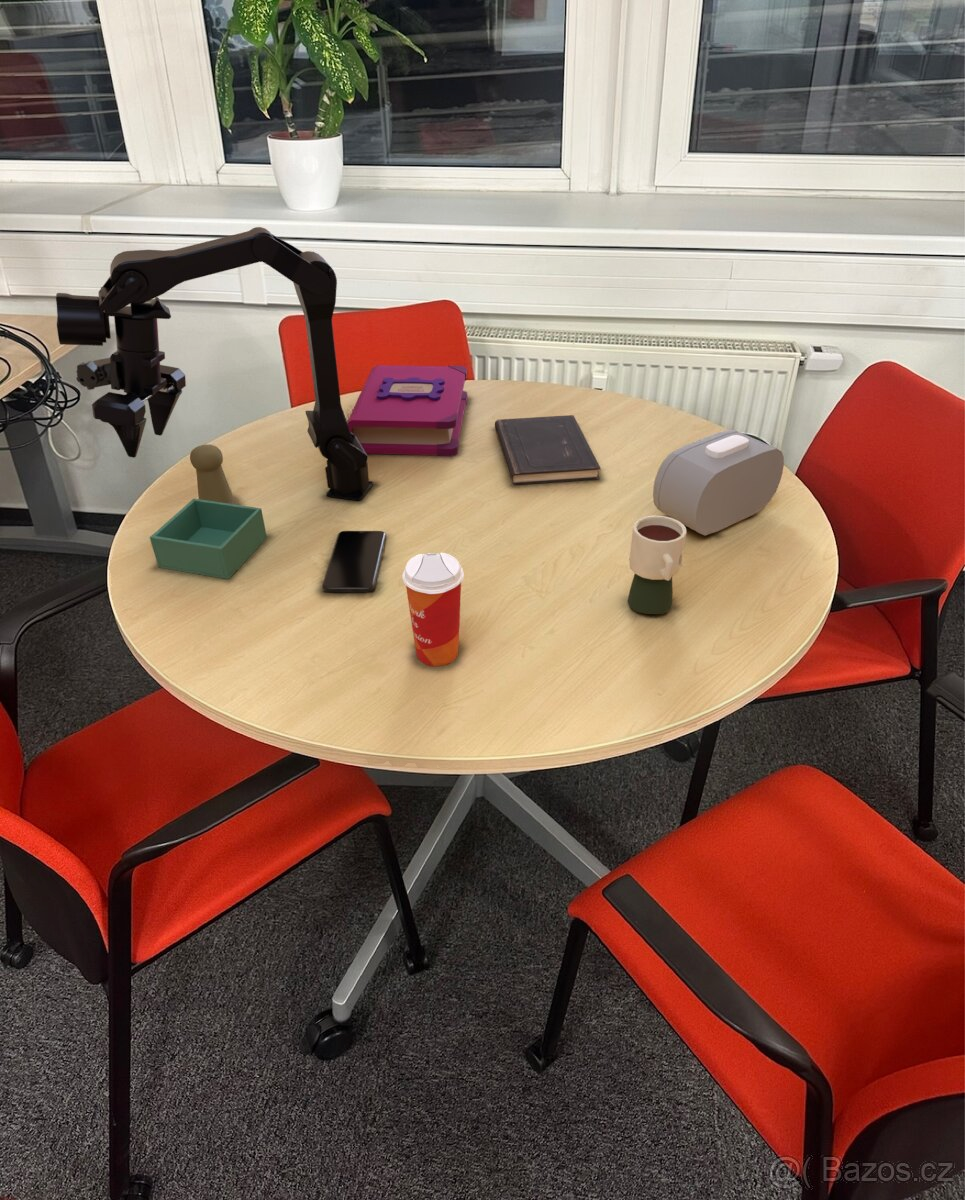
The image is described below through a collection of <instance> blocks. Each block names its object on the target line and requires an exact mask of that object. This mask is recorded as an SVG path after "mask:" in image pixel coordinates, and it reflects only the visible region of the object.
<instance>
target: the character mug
mask: <svg viewBox="0 0 965 1200" xmlns="http://www.w3.org/2000/svg"><path fill="white" fill-rule="evenodd" d="M686 527H687V526H686V525H684V524H682V523H681V522H679V521H677V520H675V519H673V518H671V517H670V516H664V515H647V516H643V517H641V518H639V519H638V520H636V521H635V522H634V524H633V526H632V533H631V541H630V547H629V548H630V549H629V558H628V560H629V561H628V563H629V569H630V570H631V571H632V572H633V573H634V575H633V578H632V581H631V585H630V589H629V593H628V597H627V604H628V606H629V608H630V609H632V610H634V611H635V612H638V613H641V614H646V615H664V614H666V613H668V612H669V611H670V610H671V609H672V605H673V576H675V575H676V574H678V573H679V572H680V571H681V569H682V566H683V552H684V550H685V547H686V538H687V528H686Z"/></svg>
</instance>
